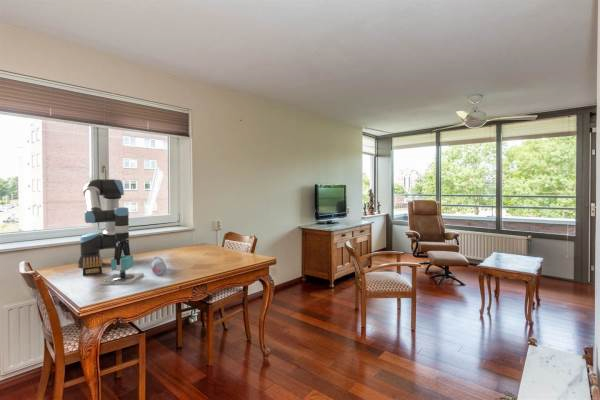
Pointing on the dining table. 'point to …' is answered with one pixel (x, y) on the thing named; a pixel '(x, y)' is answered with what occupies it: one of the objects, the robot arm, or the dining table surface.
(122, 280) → the post stand
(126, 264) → the collar
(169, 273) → the dining table surface
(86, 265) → the ammunition clip
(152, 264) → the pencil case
